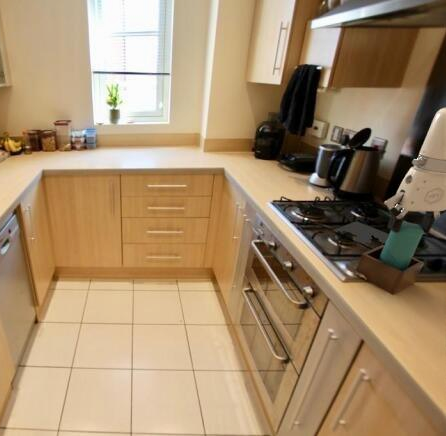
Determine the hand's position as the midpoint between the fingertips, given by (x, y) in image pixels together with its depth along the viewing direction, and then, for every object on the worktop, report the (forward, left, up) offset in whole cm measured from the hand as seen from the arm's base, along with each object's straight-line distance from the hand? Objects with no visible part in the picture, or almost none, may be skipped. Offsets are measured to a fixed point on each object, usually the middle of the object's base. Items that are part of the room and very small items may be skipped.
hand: (407, 229), depth 82 cm
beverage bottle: (0, 0, -15) cm, 15 cm away
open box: (0, 0, -16) cm, 16 cm away
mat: (+16, -20, -16) cm, 30 cm away
